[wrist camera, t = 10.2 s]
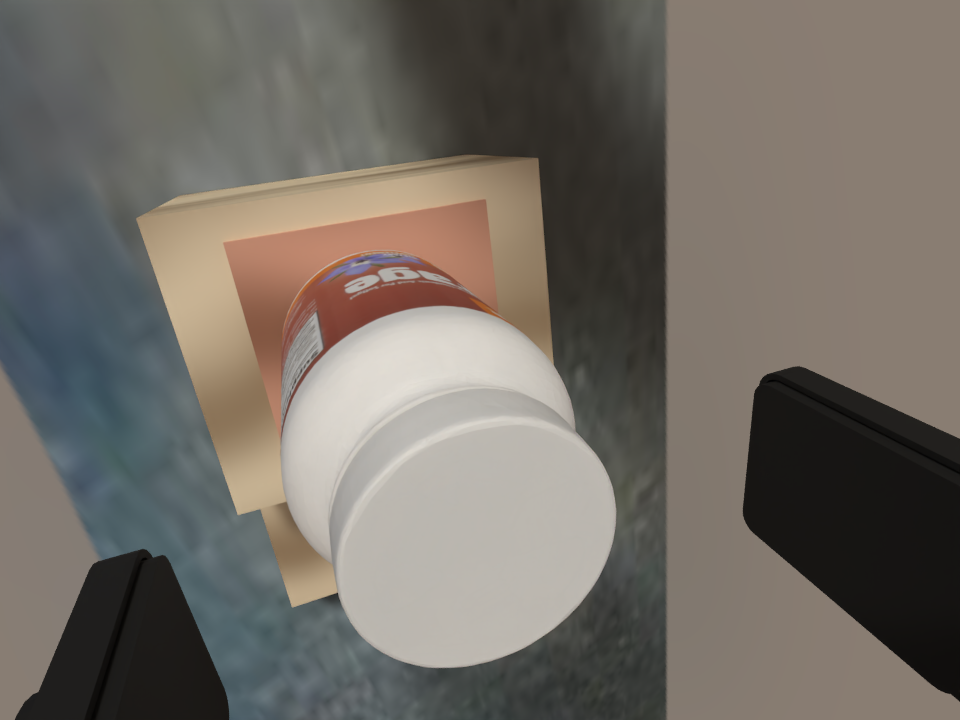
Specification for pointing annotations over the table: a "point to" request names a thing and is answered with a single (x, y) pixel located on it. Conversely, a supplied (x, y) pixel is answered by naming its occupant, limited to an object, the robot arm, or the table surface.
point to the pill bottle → (435, 464)
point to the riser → (297, 258)
